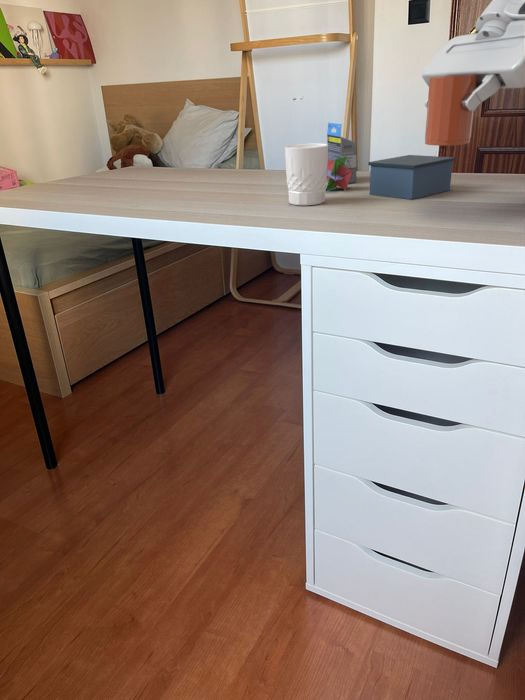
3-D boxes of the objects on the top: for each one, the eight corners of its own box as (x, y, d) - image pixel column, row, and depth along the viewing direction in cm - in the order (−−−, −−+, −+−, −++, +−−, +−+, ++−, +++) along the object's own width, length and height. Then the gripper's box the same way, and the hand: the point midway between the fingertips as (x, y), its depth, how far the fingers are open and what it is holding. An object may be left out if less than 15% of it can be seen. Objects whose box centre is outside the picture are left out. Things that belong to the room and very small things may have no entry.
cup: (441, 140, 84) (447, 76, 80) (478, 141, 79) (486, 74, 75) (416, 144, 80) (421, 78, 76) (453, 146, 76) (460, 75, 72)
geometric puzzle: (367, 177, 108) (347, 144, 108) (349, 182, 103) (329, 147, 103) (342, 197, 113) (323, 165, 113) (325, 203, 108) (305, 169, 108)
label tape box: (357, 183, 116) (358, 122, 111) (339, 184, 115) (340, 123, 110) (342, 177, 124) (343, 121, 118) (326, 179, 123) (326, 122, 118)
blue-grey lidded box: (407, 185, 110) (409, 154, 107) (452, 190, 103) (455, 157, 100) (367, 194, 103) (368, 162, 101) (412, 200, 96) (414, 165, 93)
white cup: (335, 203, 97) (336, 145, 92) (296, 208, 94) (295, 148, 90) (316, 196, 103) (315, 142, 99) (279, 201, 101) (277, 146, 97)
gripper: (448, 20, 83) (393, 92, 84) (560, -1, 66) (489, 90, 67) (467, 51, 86) (413, 120, 88) (578, 39, 69) (510, 125, 71)
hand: (447, 107), depth 77 cm, fingers closed on cup, 6 cm apart
